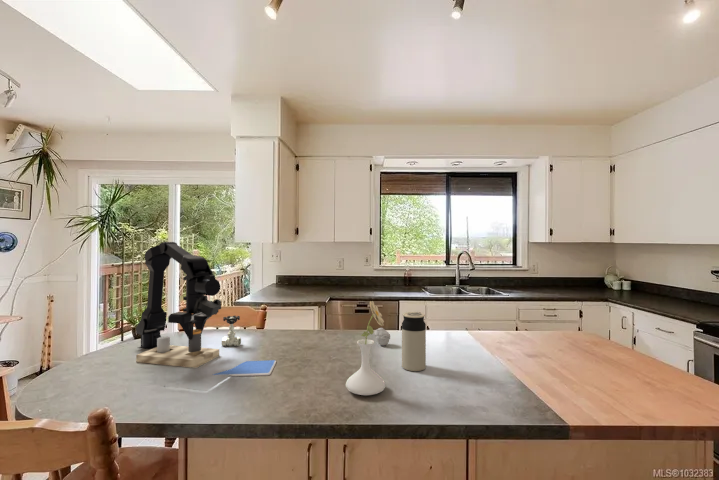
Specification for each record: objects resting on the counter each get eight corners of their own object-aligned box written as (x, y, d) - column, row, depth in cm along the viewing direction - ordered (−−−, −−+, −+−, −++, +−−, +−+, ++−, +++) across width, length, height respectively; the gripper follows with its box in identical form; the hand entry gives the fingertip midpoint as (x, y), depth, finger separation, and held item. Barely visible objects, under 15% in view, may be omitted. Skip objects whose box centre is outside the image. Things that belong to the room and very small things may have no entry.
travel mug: (430, 367, 113) (430, 313, 113) (417, 374, 107) (417, 317, 107) (410, 361, 118) (410, 310, 118) (397, 367, 112) (397, 314, 113)
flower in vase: (373, 403, 87) (373, 307, 87) (337, 393, 93) (337, 303, 93) (395, 385, 98) (395, 300, 98) (362, 377, 104) (362, 297, 104)
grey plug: (154, 358, 119) (154, 339, 119) (163, 355, 123) (163, 336, 123) (163, 359, 118) (163, 340, 118) (172, 355, 122) (172, 336, 122)
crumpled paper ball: (379, 342, 142) (379, 325, 142) (393, 344, 137) (393, 328, 138) (371, 345, 137) (371, 328, 137) (385, 348, 133) (385, 331, 133)
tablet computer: (206, 379, 104) (206, 375, 104) (220, 364, 116) (220, 360, 116) (269, 377, 105) (269, 373, 105) (276, 363, 118) (276, 359, 118)
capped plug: (185, 351, 116) (185, 331, 116) (193, 348, 120) (194, 328, 120) (195, 352, 115) (195, 332, 115) (203, 348, 119) (203, 329, 119)
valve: (236, 349, 131) (236, 319, 131) (219, 349, 131) (219, 319, 131) (242, 344, 138) (242, 315, 138) (226, 344, 138) (226, 315, 138)
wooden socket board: (136, 363, 116) (136, 354, 116) (163, 352, 127) (163, 344, 127) (196, 369, 110) (196, 360, 110) (219, 357, 122) (219, 349, 122)
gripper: (196, 298, 107) (196, 347, 107) (231, 290, 125) (231, 332, 125) (167, 297, 109) (166, 345, 109) (205, 289, 127) (204, 330, 127)
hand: (194, 337), depth 117 cm, fingers closed on capped plug, 4 cm apart
